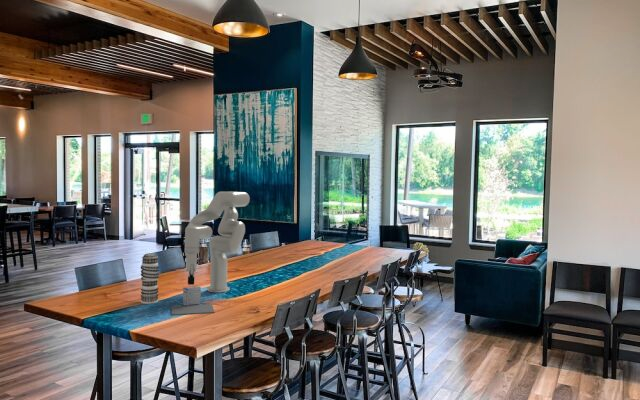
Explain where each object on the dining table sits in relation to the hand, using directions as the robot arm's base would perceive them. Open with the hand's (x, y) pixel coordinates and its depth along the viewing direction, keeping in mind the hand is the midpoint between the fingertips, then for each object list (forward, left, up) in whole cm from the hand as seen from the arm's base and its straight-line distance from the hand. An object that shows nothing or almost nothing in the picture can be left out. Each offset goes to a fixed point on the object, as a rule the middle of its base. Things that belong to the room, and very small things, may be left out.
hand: (190, 284), depth 252 cm
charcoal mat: (+17, 0, -9) cm, 19 cm away
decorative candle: (-2, -21, -9) cm, 23 cm away
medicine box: (+8, 0, -9) cm, 12 cm away
